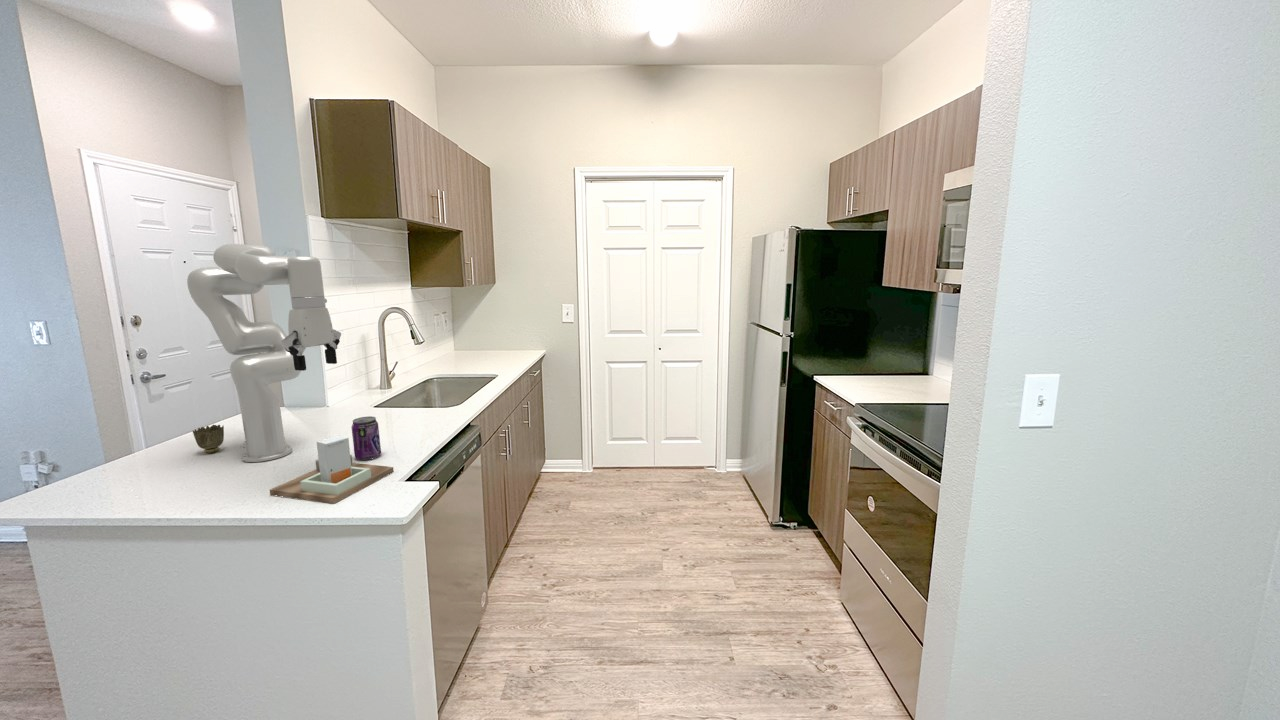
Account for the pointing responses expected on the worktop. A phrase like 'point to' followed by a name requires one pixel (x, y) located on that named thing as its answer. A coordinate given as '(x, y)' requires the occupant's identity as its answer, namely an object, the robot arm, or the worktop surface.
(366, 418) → the beverage can
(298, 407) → the worktop surface
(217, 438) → the cup
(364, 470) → the green square frame
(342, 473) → the skincare box
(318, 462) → the sun gear
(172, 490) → the worktop surface
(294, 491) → the carrier plate
